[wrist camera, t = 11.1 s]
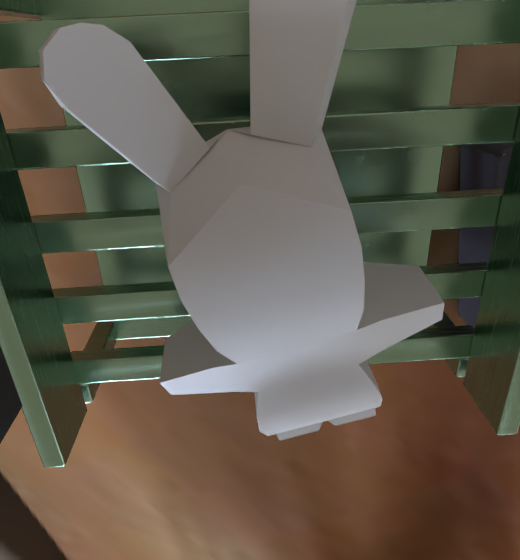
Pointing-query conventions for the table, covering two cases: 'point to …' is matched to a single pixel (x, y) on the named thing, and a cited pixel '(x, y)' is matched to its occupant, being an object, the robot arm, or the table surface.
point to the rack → (236, 114)
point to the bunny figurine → (254, 220)
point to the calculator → (475, 176)
